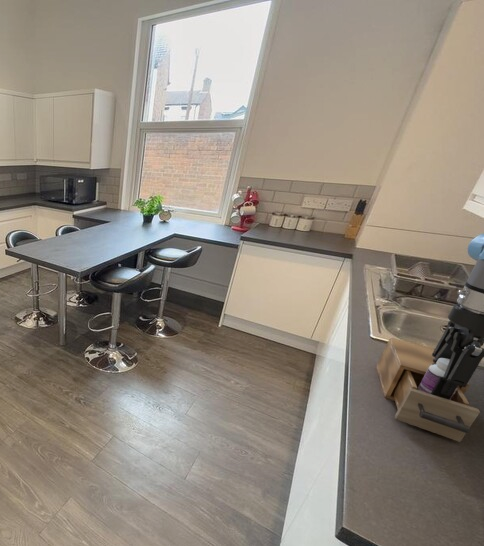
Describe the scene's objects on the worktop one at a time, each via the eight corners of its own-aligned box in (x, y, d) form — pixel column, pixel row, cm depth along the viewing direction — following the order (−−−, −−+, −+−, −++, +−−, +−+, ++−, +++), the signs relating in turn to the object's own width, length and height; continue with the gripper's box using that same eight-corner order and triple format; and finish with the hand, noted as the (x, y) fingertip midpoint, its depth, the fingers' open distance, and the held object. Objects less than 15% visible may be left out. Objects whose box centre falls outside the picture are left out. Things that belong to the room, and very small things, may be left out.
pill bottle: (449, 408, 71) (470, 374, 67) (416, 395, 74) (434, 362, 71) (449, 396, 74) (468, 363, 71) (417, 384, 78) (434, 352, 74)
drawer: (467, 457, 66) (489, 426, 63) (399, 431, 72) (415, 402, 69) (440, 402, 81) (457, 375, 77) (385, 385, 86) (398, 359, 83)
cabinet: (448, 418, 77) (469, 384, 73) (384, 397, 83) (400, 364, 79) (430, 383, 89) (448, 352, 85) (375, 367, 95) (389, 337, 91)
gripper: (442, 290, 74) (403, 368, 83) (471, 321, 61) (420, 411, 69) (490, 298, 70) (443, 380, 79) (533, 334, 57) (470, 428, 65)
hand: (432, 394), depth 74 cm, fingers closed on pill bottle, 5 cm apart
